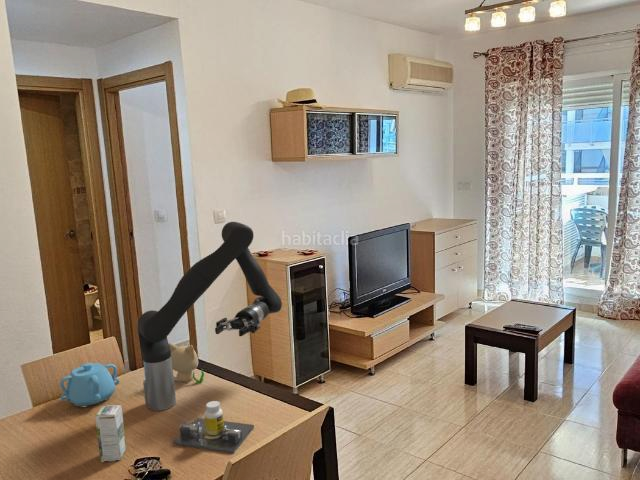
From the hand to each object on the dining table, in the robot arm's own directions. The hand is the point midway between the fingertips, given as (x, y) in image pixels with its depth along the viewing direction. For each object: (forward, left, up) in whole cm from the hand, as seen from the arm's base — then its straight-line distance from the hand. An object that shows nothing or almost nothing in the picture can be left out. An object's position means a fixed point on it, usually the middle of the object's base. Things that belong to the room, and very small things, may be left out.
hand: (228, 332), depth 167 cm
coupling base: (+1, -16, -27) cm, 32 cm away
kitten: (-29, +17, -27) cm, 43 cm away
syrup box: (-23, -32, -27) cm, 48 cm away
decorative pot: (-55, -5, -27) cm, 61 cm away
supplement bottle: (+2, -17, -26) cm, 31 cm away
